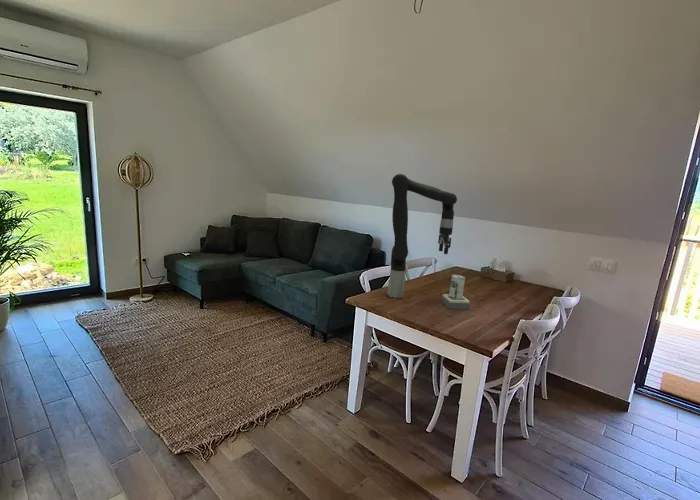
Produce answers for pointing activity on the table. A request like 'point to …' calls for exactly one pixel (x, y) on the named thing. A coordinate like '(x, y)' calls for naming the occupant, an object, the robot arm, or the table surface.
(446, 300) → the plinth
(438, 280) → the table surface
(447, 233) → the robot arm
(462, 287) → the syrup box
